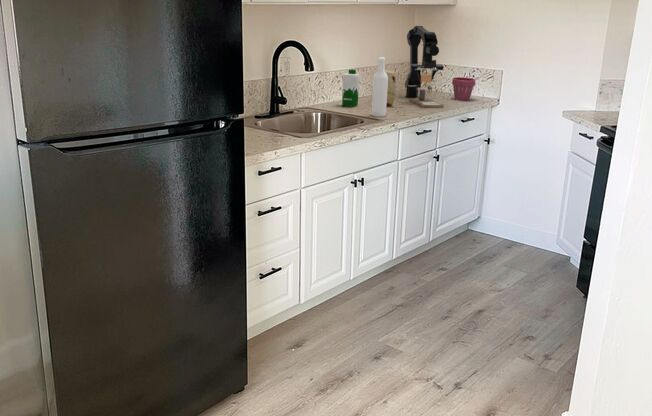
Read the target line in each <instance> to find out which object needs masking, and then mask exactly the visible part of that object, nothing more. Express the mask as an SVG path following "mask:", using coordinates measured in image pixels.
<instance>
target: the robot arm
mask: <svg viewBox="0 0 652 416" xmlns="http://www.w3.org/2000/svg"><path fill="white" fill-rule="evenodd" d="M406 40H407V44H408V46H409V73H408V74H407V76H406V80H405V82H404V88H406V91H405V92H406V93H405V96H404V98H408V99H410V98H419V89H420V88H421V86H422V82H421V73H422V72H421V69H424V70H425V69H430V70H431V75H432V80H431V83H432V82H433V79H434V77H435V75H436V73H437V72H439V71H444V65H443V64H441V63H440V64H439V63H437V60H436V59H433V57H436V56H438V54H439V53H440V48H439V46H437V45H438V42H439V41H438V38H437V34H436V33H435V32H434V31H429V30H427V29H426V28H425V27H424V26H423V25H414V26H413V28H411V29H410V30H409V31H408V32H407V35H406ZM421 42H422V56H421V57H422V58H421V59H422V60H421V64H419V63H418V62H419V46H420V45H421Z"/></svg>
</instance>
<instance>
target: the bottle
mask: <svg viewBox="0 0 652 416" xmlns="http://www.w3.org/2000/svg"><path fill="white" fill-rule="evenodd" d="M385 67H386V57H383V56H379V57H378V59H377V71H376V72H375V73H374V74H373V78H372V91H371V92H372V94H371V95H372V96H371V109H370V110H371V112H370V113H371V116H373V117H377V118H379V117H380V118H381V117H387V116H386V115H387V106H386V105H387V88H388V76H387V74H386V73H385V71H386V68H385Z"/></svg>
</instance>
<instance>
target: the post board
mask: <svg viewBox="0 0 652 416" xmlns="http://www.w3.org/2000/svg"><path fill="white" fill-rule="evenodd" d="M408 102H410V103H412V104H414V105H416V106H418V107H420V108H423V109H443V108H444V105H443V104H441V103H439V102H437V101H434V100H432V99H430V98H427V97H426V89H420V90H419V94H418V97H417V98H408Z"/></svg>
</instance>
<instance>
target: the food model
mask: <svg viewBox="0 0 652 416" xmlns="http://www.w3.org/2000/svg"><path fill="white" fill-rule="evenodd" d="M385 73H386V74H387V76H388V88H387V105H386V107H391V106H393V105H394V102H395V98H396V97H395V96H396V83H397V81H396V77H397V76H396V72H395V71H392V70H385Z"/></svg>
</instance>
